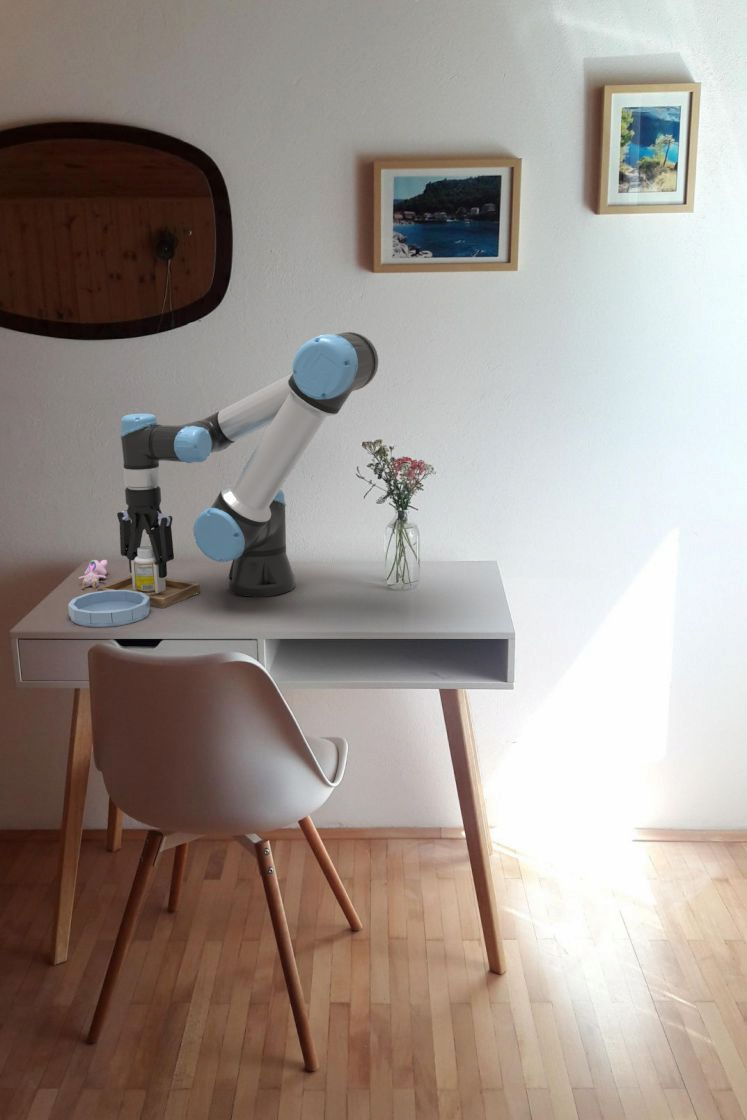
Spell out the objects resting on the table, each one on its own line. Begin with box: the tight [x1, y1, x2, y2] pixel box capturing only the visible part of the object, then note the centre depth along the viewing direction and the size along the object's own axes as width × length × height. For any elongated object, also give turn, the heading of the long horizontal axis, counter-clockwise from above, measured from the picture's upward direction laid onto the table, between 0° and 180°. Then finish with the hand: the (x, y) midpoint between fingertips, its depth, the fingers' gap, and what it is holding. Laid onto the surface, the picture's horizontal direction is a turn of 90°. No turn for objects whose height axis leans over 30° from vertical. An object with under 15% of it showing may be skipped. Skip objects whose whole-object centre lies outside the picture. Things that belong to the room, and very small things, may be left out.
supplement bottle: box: [134, 545, 160, 595], centre depth 235 cm, size 6×6×10 cm
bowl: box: [67, 590, 151, 628], centre depth 222 cm, size 16×16×3 cm
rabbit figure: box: [78, 559, 108, 590], centre depth 247 cm, size 6×6×15 cm
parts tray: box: [97, 575, 201, 609], centre depth 236 cm, size 18×13×2 cm
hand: (149, 589), depth 236 cm, fingers closed on supplement bottle, 6 cm apart
